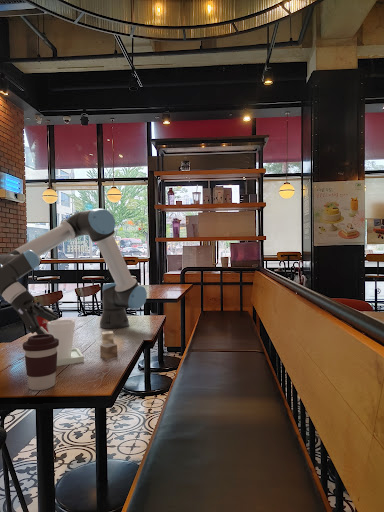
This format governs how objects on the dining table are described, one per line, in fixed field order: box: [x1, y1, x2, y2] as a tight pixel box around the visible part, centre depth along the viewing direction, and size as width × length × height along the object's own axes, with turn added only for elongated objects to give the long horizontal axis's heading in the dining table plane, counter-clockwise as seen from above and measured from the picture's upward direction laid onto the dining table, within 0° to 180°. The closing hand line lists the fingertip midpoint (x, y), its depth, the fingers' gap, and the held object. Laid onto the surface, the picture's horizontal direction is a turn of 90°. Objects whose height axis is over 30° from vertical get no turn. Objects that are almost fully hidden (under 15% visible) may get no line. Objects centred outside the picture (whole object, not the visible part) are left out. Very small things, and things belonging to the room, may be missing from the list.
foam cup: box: [47, 318, 76, 359], centre depth 131 cm, size 10×9×13 cm
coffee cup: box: [22, 334, 59, 391], centre depth 106 cm, size 10×10×15 cm
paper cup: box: [36, 307, 53, 335], centre depth 162 cm, size 8×8×14 cm
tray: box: [57, 347, 85, 367], centre depth 131 cm, size 13×13×2 cm
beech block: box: [101, 330, 115, 345], centre depth 155 cm, size 4×4×4 cm
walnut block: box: [99, 343, 118, 360], centre depth 134 cm, size 4×4×4 cm
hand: (59, 337), depth 131 cm, fingers open, 13 cm apart
